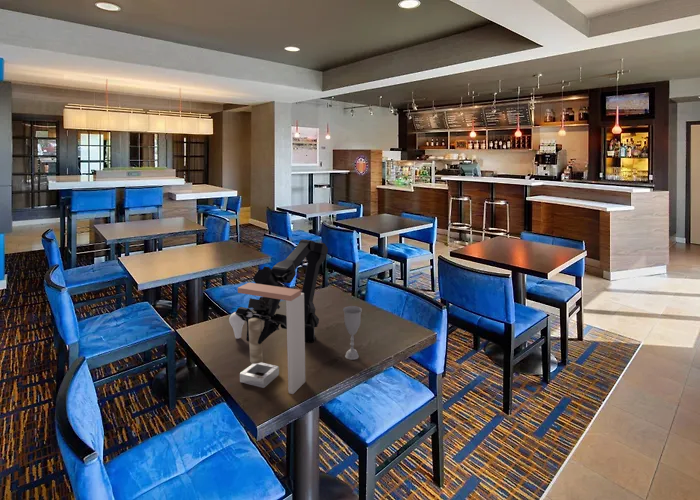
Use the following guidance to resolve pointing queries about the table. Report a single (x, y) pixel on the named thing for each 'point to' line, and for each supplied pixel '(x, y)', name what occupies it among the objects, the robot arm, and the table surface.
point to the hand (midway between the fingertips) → (253, 342)
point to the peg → (255, 340)
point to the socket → (256, 380)
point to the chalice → (352, 327)
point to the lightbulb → (236, 324)
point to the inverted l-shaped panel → (288, 327)
